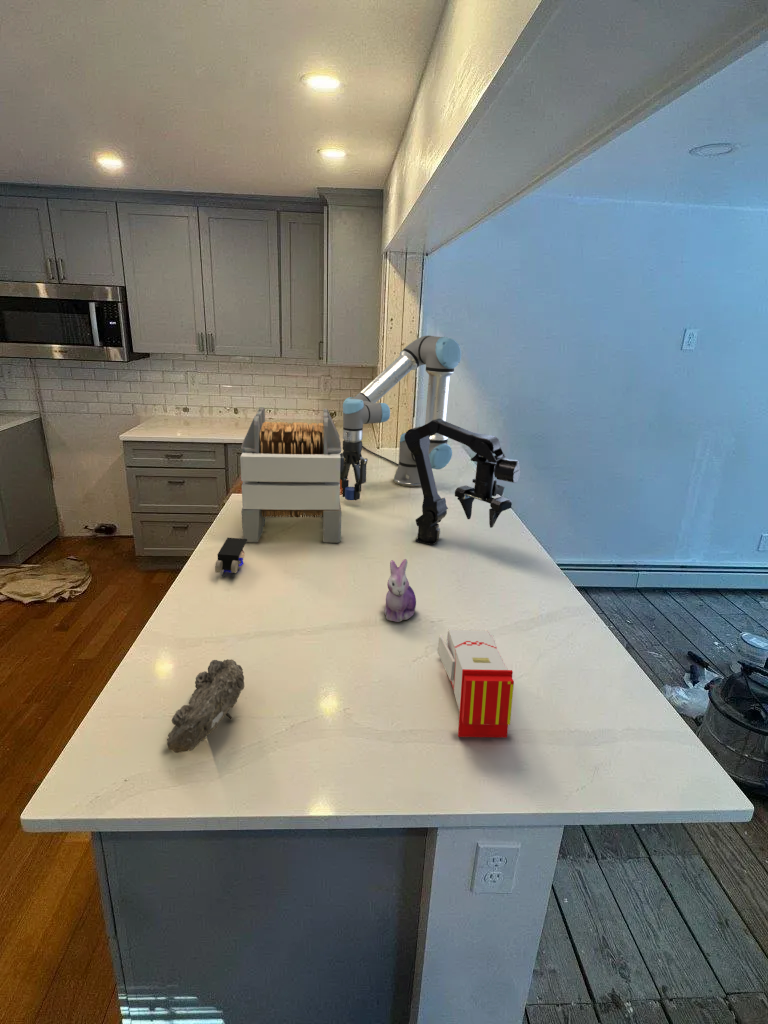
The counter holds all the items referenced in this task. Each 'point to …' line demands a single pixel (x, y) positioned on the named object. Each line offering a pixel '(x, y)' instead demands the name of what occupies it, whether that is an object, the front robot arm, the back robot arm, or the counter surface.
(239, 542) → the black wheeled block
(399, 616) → the figurine
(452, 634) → the toy
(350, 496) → the cylinder
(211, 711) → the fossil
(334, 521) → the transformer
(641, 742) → the counter surface
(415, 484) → the back robot arm
